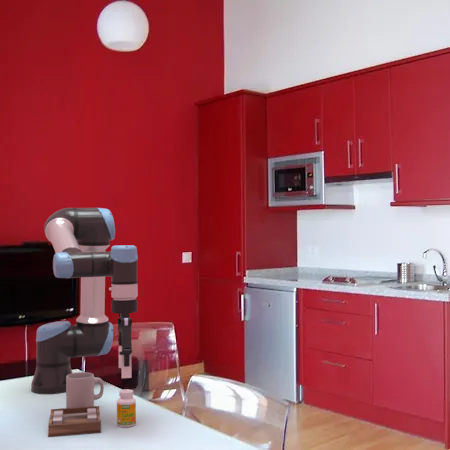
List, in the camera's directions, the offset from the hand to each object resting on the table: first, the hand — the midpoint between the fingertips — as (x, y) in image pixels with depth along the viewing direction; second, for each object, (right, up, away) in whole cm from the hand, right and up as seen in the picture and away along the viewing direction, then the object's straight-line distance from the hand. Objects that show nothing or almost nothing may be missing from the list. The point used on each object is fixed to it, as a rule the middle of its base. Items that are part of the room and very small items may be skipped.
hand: (124, 372), depth 174 cm
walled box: (-14, -15, 0) cm, 21 cm away
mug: (-15, -16, +16) cm, 27 cm away
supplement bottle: (0, -15, 0) cm, 15 cm away
